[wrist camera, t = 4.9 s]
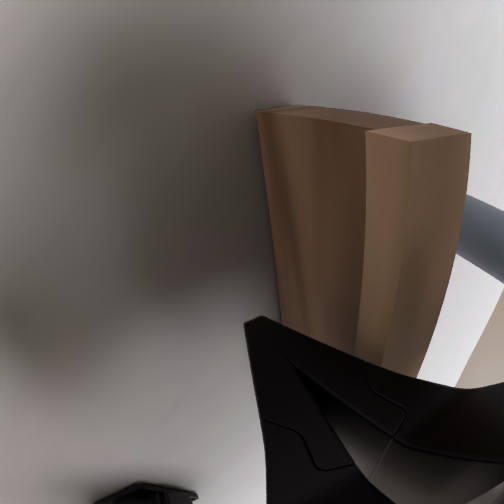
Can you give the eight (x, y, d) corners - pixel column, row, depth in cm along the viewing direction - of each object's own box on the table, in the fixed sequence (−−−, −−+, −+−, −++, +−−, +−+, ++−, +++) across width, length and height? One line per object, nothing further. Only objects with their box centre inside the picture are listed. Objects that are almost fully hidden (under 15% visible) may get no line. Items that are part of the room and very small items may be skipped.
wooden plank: (288, 422, 18) (336, 493, 13) (247, 112, 9) (410, 142, 4) (315, 408, 18) (365, 475, 14) (304, 104, 9) (471, 133, 4)
